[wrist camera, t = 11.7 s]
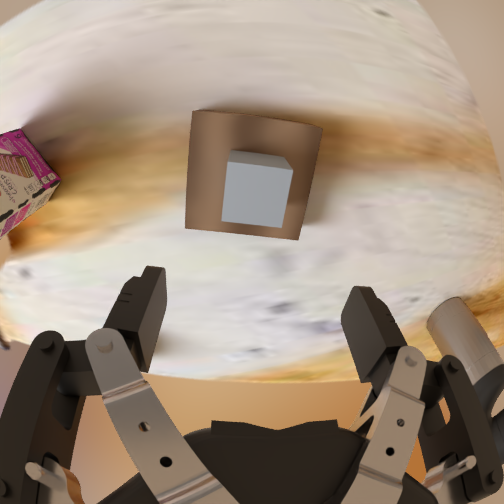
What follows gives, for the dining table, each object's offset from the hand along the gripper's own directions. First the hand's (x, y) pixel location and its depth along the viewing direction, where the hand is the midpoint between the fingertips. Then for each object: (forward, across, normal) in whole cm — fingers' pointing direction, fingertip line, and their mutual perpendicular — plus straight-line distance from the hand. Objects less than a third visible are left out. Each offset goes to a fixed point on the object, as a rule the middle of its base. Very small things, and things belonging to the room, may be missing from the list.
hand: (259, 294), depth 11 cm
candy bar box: (+20, +29, 0) cm, 35 cm away
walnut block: (+21, 0, 0) cm, 21 cm away
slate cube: (+17, 0, 0) cm, 17 cm away
